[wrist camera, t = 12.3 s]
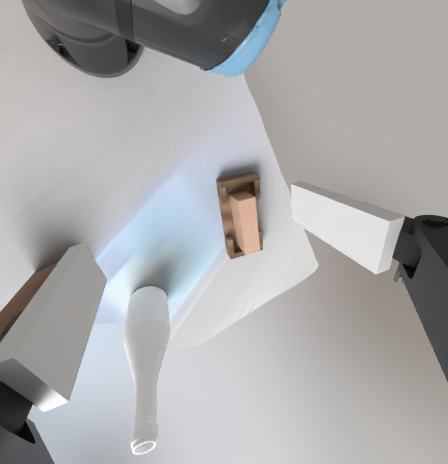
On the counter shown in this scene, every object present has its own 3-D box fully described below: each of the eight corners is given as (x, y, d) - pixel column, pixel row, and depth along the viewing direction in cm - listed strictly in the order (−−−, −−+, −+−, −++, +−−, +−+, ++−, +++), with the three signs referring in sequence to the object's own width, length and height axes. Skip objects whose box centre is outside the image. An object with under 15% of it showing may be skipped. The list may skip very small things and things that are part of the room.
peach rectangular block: (229, 194, 48) (238, 201, 43) (244, 190, 49) (255, 196, 44) (236, 243, 55) (245, 254, 49) (250, 239, 55) (260, 250, 50)
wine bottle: (137, 280, 51) (120, 430, 25) (172, 288, 55) (190, 423, 29) (123, 309, 53) (95, 474, 27) (158, 314, 57) (163, 461, 31)
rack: (216, 180, 46) (219, 182, 44) (253, 172, 48) (259, 174, 46) (227, 253, 56) (230, 259, 53) (258, 244, 58) (262, 249, 55)
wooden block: (74, 252, 43) (30, 317, 28) (88, 267, 45) (55, 334, 30) (33, 272, 42) (-36, 351, 27) (50, 286, 45) (-5, 366, 29)
